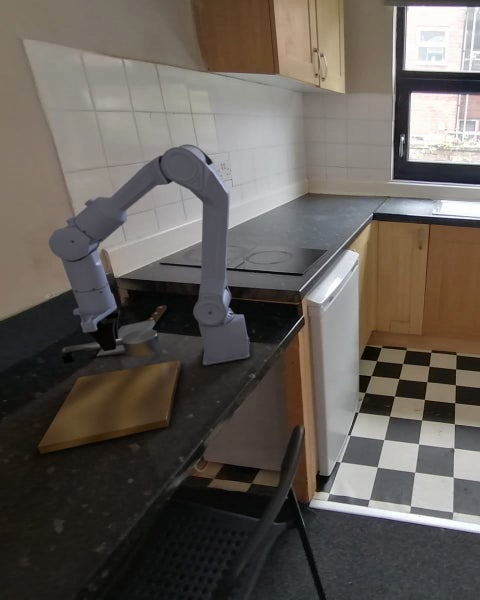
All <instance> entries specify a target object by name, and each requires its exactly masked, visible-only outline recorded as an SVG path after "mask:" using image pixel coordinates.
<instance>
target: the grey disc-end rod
mask: <svg viewBox="0 0 480 600" xmlns="http://www.w3.org/2000/svg"><path fill="white" fill-rule="evenodd" d="M120 345H123V346H124V349H125V353H124V354H125V355H126V356H127V357H130V358H139V357H145V356H148V355H151V354H153V353H155V352H156V351H158V350H159V349H160V348H161V342H160V339H159V335H158V332H157V330H155V329H153V328H152V329H142V330H137V331H134V332H131V333H129V334H127V335H125V336H124V337H123V338H122V339H116V346H120ZM101 349H102V348H101V347H100V345H99V344H98V343H97V341H96V342H90V343H83V344H77V345H69V346H64V347H63V348H62V349H61V352H62V355H61V358H62V360H63V363H64V364H70V363H71V364H72V363H75V361H76V360H77V356H76V353H80V352H81V353H82V352H87V351H93V350H95V351H96V350H101Z"/></svg>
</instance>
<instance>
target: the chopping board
mask: <svg viewBox="0 0 480 600" xmlns="http://www.w3.org/2000/svg"><path fill="white" fill-rule="evenodd" d="M181 366H182V365H181V362H180V360H179V359H178V360H174V361H173V360H172V361H167V362H161V363H156V364H150V365H144V366H138V367H137V366H136V367H131V368H127V369H120V370H114V371H109V372H103V373H98V374H91V375H85V376H81V377H80V376H79V377H77V380H76V381H75V383H74V385H73V387H72V388H71V390H70V391H69V393H68V395H67V397H66V398H65V399H64V402H63V403H62V405H61V406H60V408H59V411H58V412H57V413H56V415H55V417H54V419H53V420H52V422H51V424H50V425H49V427H48V428H47V430H46V432H45V434H44V435H43V437H42V438H41V440H40V442H39V444H38V445H37V449H38V451H39V453H40V455H43V454H47V453H52V452H56V451H62V450H64V449H70V448H74V447H80V446H84V445H87V444H93V443H97V442H101V441H106V440H111V439H115V438H120V437H125V436H130V435H133V434H139V433H143V432H147V431H153V430H157V429H162V428H166V427H169V424H170V419H171V414H172V410H173V405H174V400H175V396H176V391H177V387H178V381H179V376H180V371H181Z"/></svg>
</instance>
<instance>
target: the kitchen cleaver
mask: <svg viewBox="0 0 480 600" xmlns="http://www.w3.org/2000/svg"><path fill="white" fill-rule="evenodd" d="M167 309H168V307H167V305H166V304H161V305H159V306H157V307H156V308H155V311H154V312H152V314H151V315H150V317H148V318H147V319H146V320H144V321H139V322H134V323H129V324H125V325H122V326H120V328H118V339H122V338H123V337H124V336H125V335H127V334H129V333H131V332H134V331H137V330H142V329H153V328H154V326H156V324H157V322H158V321H159V320H160V318H161V317H162V316H163V314H164V313H165V312H166V310H167ZM119 354H120V355H121V354H126V353H125V349H124V346H123V345H120V346H116V349H115V350H109V351H103V349H102V348H101V349H99V351H98V353H97V354H96V357H103V356H111V355H119Z"/></svg>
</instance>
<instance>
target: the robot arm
mask: <svg viewBox="0 0 480 600" xmlns="http://www.w3.org/2000/svg"><path fill="white" fill-rule="evenodd" d="M171 183H176V184H177V185H179V186H181V187H183V188H184V189H187V190H189V191H190V192H191V193H192V194H193V195H194V196H196V198H197V199H199V200H200V202H202V219H201V221H202V222H201V223H202V225H201V268H200V269H201V271H200V274H201V276H200V284H199V291H198V298H197V301H196V303H195V305H194V306H193V310H192V312H193V313H192V314H193V316H194V318H195V320H196V321H197V323H198V329H199V332H200V335H201V337H200V338H201V341H202V345H203V346H202V347H203V350H204V351H203V360H202V365H203V366H210V365H211V366H212V365H216V364H220V363H228V362H232V361H233V362H234V361H237V360H244V359H249V358H250V345H251V342H250V337H249V336H248V332H247V325H246V319H245V315H244V314H236V313H234V311H233V310H232V309H231V308H230V303H231V302H232V301H231V300H232V293H231V291H230V289H229V285H228V278H227V267H228V245H229V226H230V225H229V222H230V221H229V220H230V203H231V202H230V200H231V193H230V190H229V188H228V186H227V185H226V182H225V181H224V179H223V178H222V176H221V174H220V172H219V171H218V169H217V167H216V164H215V163H214V160H213V159H212V157H210V156H209V155H208V154H207V153H206V152H204V150H202V149H201V148H200V147H198V146H196V145H194V144H189V143H188V144H182V145H179V146H174V147H170V148H168V149H167V150H166V151H164V153H163V154H162V155H161V154H160V155H159V156H157V157H154V158H153V159H152V160H151V161H149V162H147V163H145V165H144V166H142V167H141V168H140V169H139V170H138V171H137V172H136V173H135V174H134V175H133V176H132V177H130V179H129V180H128V181H126V183H124V184H123V185H122V186H121V187H120V188H119V189H118V190H117V191H116V192H115V193H114V194H112V196H110V197H106V196H98V197H96V198H89V199H88V200H87V201H85V202H84V205H85V206H86V207H85V208H83V210H81V211H80V212H79V213H78V214H77V215H76V216H74V217H73V216H71V217H69V218H68V219H67V220H65V222H66V224H67V226H65V227H62V228H58V229H56V230H54V231H53V232H52V234H51V236H50V237H49V240H48V245H49V249H50V251H51V252H52V253H53V254H54V255H55V256H56V257H57V258H59V259H60V260H61V262H62V265H63V267H64V271H65V273H66V276H67V279H68V281H69V285H70V287H71V291H72V293H73V295H74V298H75V301H76V304H77V306H78V307H76V308H75V309H74V310H73V311H72V314H73V315H74V316H80V319H81V322H80V327H81V330H82V332H83V334H84V333H87V334H89V335H90V337H92V338H93V340H95V341H96V342H97V343H98V344H99V345H100V347H101V349H103V351H109V350H115V349H116V339H118V330H119V319H120V316H121V309H120V308H118V306H117V303H116V300H115V297H114V296H115V295H114V293H112V291H111V288H110V284H109V280H108V279H107V278H108V277H107V275H106V272H105V268H104V265H103V262H102V260H101V257H100V254H99V250H98V249H99V247H100V245H101V243H103V242H104V241H105V240H107V239H108V237H110V236H111V235H113V233H115V232H116V231H117V230H118V229H119V228H120V227H122V226H123V225H124V224H125V223H126V222H127V221H128V210H129V209H130V208H131V207H132V206H134V205H135V204H136V203H137V202H139V201H140V200H141V199H142V198H143V197H145V196H146V195H147V194H148V193H150V192H151V191H152V190H153V189H155V188H156V187H157V186H166V185H169V184H171Z"/></svg>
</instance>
